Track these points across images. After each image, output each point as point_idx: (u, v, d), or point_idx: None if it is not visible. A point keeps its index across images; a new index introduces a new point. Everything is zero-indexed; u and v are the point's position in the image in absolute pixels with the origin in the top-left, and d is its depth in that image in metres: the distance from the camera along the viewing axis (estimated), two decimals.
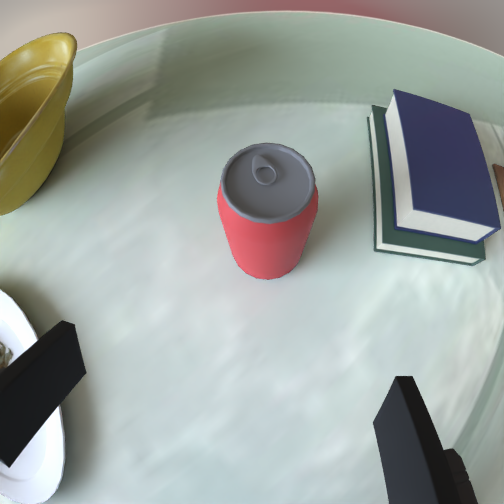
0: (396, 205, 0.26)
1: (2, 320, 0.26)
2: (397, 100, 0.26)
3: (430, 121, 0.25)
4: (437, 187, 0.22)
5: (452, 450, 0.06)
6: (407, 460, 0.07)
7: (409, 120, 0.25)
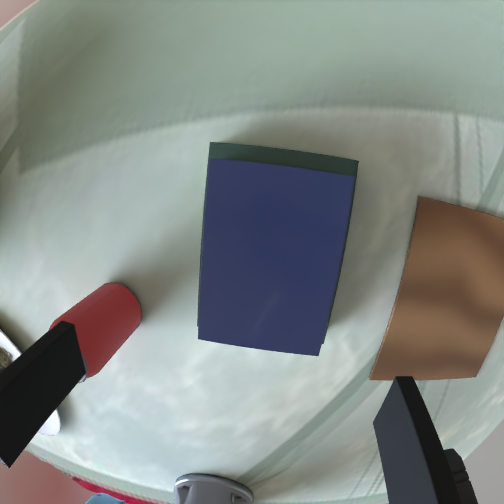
0: None
1: None
2: (207, 185, 0.22)
3: (254, 217, 0.22)
4: (231, 318, 0.24)
5: (452, 450, 0.06)
6: (407, 460, 0.07)
7: (217, 223, 0.22)
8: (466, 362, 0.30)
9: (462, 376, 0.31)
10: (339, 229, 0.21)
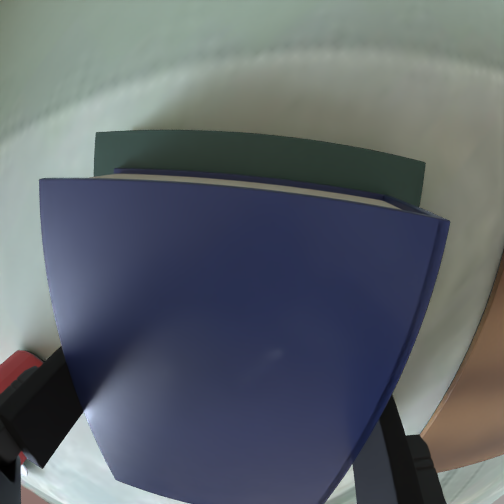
0: None
1: None
2: (43, 248, 0.07)
3: (153, 335, 0.07)
4: (155, 475, 0.10)
5: (418, 436, 0.07)
6: (370, 443, 0.08)
7: (79, 336, 0.08)
8: None
9: (503, 453, 0.17)
10: (388, 366, 0.07)
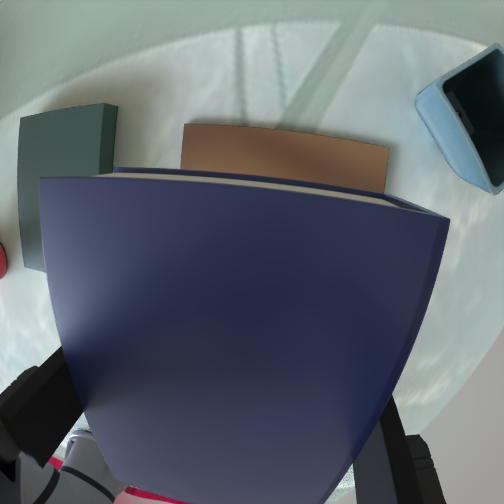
0: None
1: None
2: (43, 247, 0.07)
3: (152, 334, 0.07)
4: (155, 475, 0.10)
5: (418, 436, 0.07)
6: (370, 442, 0.08)
7: (78, 334, 0.08)
8: None
9: None
10: (388, 365, 0.07)
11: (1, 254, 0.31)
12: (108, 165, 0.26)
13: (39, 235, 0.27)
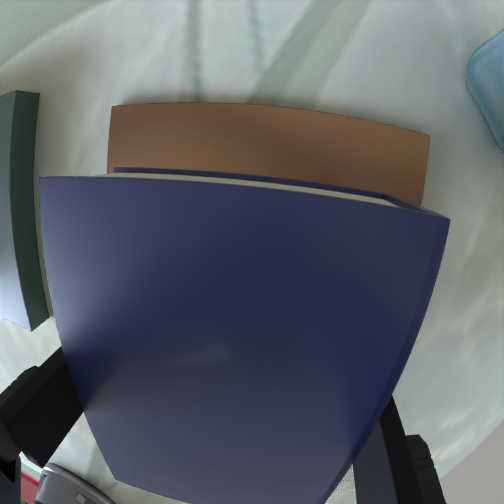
0: None
1: None
2: (43, 247, 0.07)
3: (152, 334, 0.07)
4: (155, 475, 0.10)
5: (418, 436, 0.07)
6: (370, 443, 0.08)
7: (79, 334, 0.08)
8: None
9: None
10: (388, 365, 0.07)
11: None
12: (25, 173, 0.16)
13: None
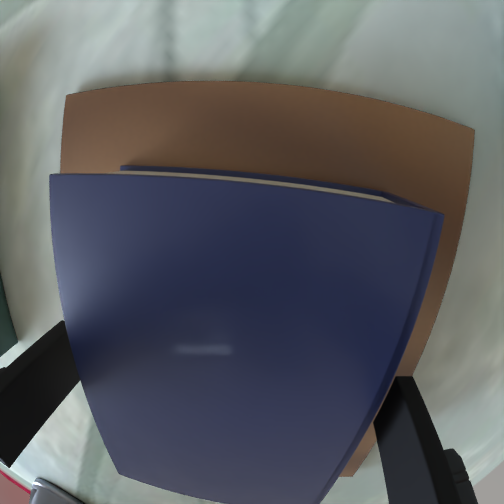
0: None
1: None
2: (53, 242, 0.08)
3: (160, 325, 0.08)
4: (159, 468, 0.10)
5: (452, 450, 0.06)
6: (407, 460, 0.07)
7: (86, 327, 0.08)
8: None
9: None
10: (386, 355, 0.07)
11: None
12: None
13: None
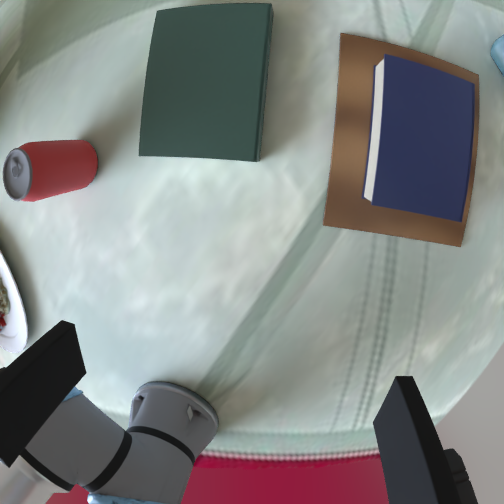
0: (366, 177, 0.29)
1: None
2: (384, 72, 0.22)
3: (419, 99, 0.22)
4: (402, 182, 0.25)
5: (452, 450, 0.06)
6: (407, 460, 0.07)
7: (393, 100, 0.23)
8: (443, 221, 0.29)
9: (442, 241, 0.30)
10: (470, 117, 0.21)
11: (94, 155, 0.32)
12: (268, 54, 0.26)
13: (173, 115, 0.28)
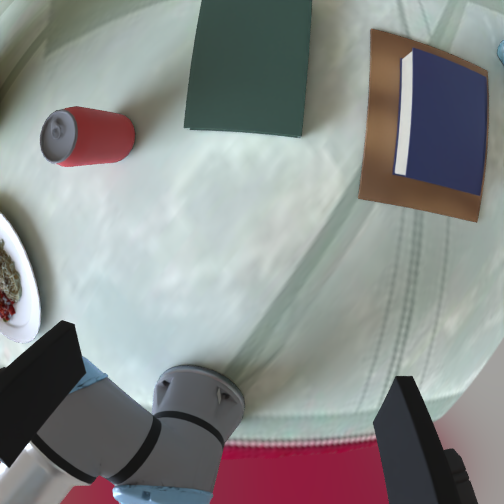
0: (397, 155, 0.30)
1: None
2: (413, 62, 0.23)
3: (442, 87, 0.24)
4: (431, 158, 0.26)
5: (452, 450, 0.06)
6: (407, 460, 0.07)
7: (421, 87, 0.24)
8: (462, 198, 0.31)
9: (461, 216, 0.32)
10: (484, 105, 0.23)
11: (132, 128, 0.33)
12: None
13: (221, 91, 0.29)
